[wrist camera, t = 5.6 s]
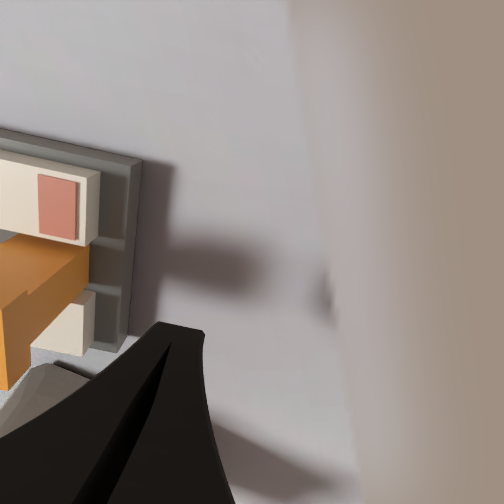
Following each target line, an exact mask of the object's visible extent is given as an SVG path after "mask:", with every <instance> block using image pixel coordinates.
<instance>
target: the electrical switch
mask: <svg viewBox="0 0 504 504" xmlns="http://www.w3.org/2000/svg"><path fill="white" fill-rule="evenodd" d="M89 380H90V379H88V378H85V377H83V376H80V375H78V374H75V373H73V372H71V371H68V370H66V369H63V368H61V367H58V366H56V365H53V364H46V363H45V364H42V365H40V366H37V367H34V368H31V369H30V371H29V372H28V373H27V375H26V376H25V377H24V378H23V380H22V381H21V382H20V384H19V385H18V386H17V387H16V389H15V390H14V391H13V393H12V394H11V395H10V397H9V398H8V399H7V401H6V402H5V403H4V405H3V406H2V407H1V409H0V438H1V437H3V436H5V435H6V434H8V433H10V432H11V431H13V430H15V429H17V428H18V427H20V426H22V425H23V424H25V423H27V422H28V421H30V420H32V419H34V418H35V417H37V416H38V415H40V414H42V413H43V412H45V411H46V410H48V409H49V408H51V407H52V406H54V405H56V404H57V403H59V402H60V401H61V400H63V399H64V398H66V397H67V396H69V395H70V394H72V393H73V392H74V391H76V390H77V389H79V388H80V387H81V386H83V385H84V384H85V383H87V382H88V381H89Z"/></svg>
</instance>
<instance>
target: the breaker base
mask: <svg viewBox="0 0 504 504" xmlns="http://www.w3.org/2000/svg"><path fill="white" fill-rule="evenodd" d="M141 171H142V160H140V159H136V158H131V157H127V156H122V155H117V154H113V153H108V152H104V151H99V150H95V149H90V148H86V147H81V146H77V145H72V144H68V143H63V142H59V141H54V140H50V139H45V138H41V137H36V136H32V135H27V134H22V133H18V132H13V131H9V130H4V129H0V244H1V243H3V242H4V241H6V240H8V239H10V238H12V237H13V236H15V235H17V234H19V233H23V234H27V235H32V236H37V237H41V238H46V239H51V240H55V241H60V242H65V243H69V244H74V245H79V246H84V247H85V246H87V245H88V244H90V250H89V283H88V285H87V286H86V287H85V288H84V289H83V291H82V292H81V293H80V294H79V295H78V296H77V297H76V298H75V299H74V300H73V301H72V302H71V303H70V304H69V305H68V306H67V307H66V308H65V309H64V310H63V311H62V312H61V313H60V314H59V315H58V317H57V318H56V319H55V320H54V321H53V322H52V323H51V324H50V325H49V326H48V327H47V328H46V329H45V330H44V331H43V332H42V333H41V334H40V335H39V336H38V337H37V338H36V339H35V340H34V341H33V343H32V344H31V345H30V346H32V347H37V348H42V349H46V350H51V351H56V352H61V353H66V354H71V355H76V356H81V357H83V355H84V354H85V352H86V351H87V350H88V348H94V349H98V350H103V351H108V352H113V353H117V352H118V351H119V349H120V347H121V346H122V344H123V342H124V341H125V339H126V337H127V335H128V323H129V312H130V300H131V288H132V277H133V265H134V253H135V241H136V230H137V218H138V206H139V195H140V183H141Z"/></svg>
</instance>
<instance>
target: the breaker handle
mask: <svg viewBox="0 0 504 504" xmlns="http://www.w3.org/2000/svg"><path fill="white" fill-rule="evenodd" d="M89 250H90V244H88V245H87V246H85V247H84V246H79V245H74V244H69V243H65V242H60V241H55V240H51V239H46V238H41V237H37V236H32V235H27V234H23V233H19V234H17V235H15V236H13V237H12V238H10V239H8V240H6V241H4V242H3V243H1V244H0V390H5V391H9V390H10V389H11V388H12V386H13V385H14V384H15V383H16V382H17V381H18V380H19V379H20V377H21V376H22V375H23V374H24V373H25V372H26V371H27V369H28V368H29V367H30V366H31V353H30V345H31V344H32V343H33V341H34V340H35V339H36V338H37V337H38V336H39V335H40V334H41V333H42V332H43V331H44V330H45V329H46V328H47V327H48V326H49V325H50V324H51V323H52V322H53V321H54V320H55V319H56V318H57V317H58V315H59V314H60V313H61V312H62V311H63V310H64V309H65V308H66V307H67V306H68V305H69V304H70V303H71V302H72V301H73V300H74V299H75V298H76V297H77V296H78V295H79V294H80V293H81V292H82V291H83V289H84V288H85V287H86V286H87V285H88V283H89Z"/></svg>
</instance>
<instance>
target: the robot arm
mask: <svg viewBox="0 0 504 504" xmlns="http://www.w3.org/2000/svg"><path fill="white" fill-rule="evenodd" d="M204 338H205V334H204V333H203V331H202V330H198V329H193V328H188V327H183V326H178V325H174V324H169V323H164V322H157V323H155V324H154V325H153V326H152V327H151V328H150V329H149V330H148V331H147V332H146V333H145V334H144V335H143V336H142V337H141V338H140V339H138V340H137V341H136V342H135V343H134V344H133V345H132V346H131V347H130V348H129V349H127V350H126V351H125V352H124V353H123V354H122V355H120V356H119V357H118V358H117V359H116V360H114V361H113V362H112V363H111V364H110V365H109V366H107V367H106V368H105V369H104V370H102V371H101V372H100V373H98V374H97V375H96V376H94V377H93V378H92V379H91V380H89V381H88V382H87V383H85V384H84V385H83V386H81V387H80V388H79V389H77V390H76V391H74V392H73V393H72V394H70V395H69V396H67V397H66V398H64V399H63V400H61V401H60V402H59V403H57V404H56V405H54V406H52V407H51V408H49V409H48V410H46V411H45V412H43V413H42V414H40V415H38V416H37V417H35V418H34V419H32V420H30V421H28V422H27V423H25V424H23V425H22V426H20V427H18V428H17V429H15V430H13V431H11V432H10V433H8V434H6V435H5V436H3V437H1V438H0V504H235V501H234V498H233V496H232V493H231V490H230V487H229V485H228V482H227V479H226V476H225V473H224V469H223V466H222V463H221V460H220V456H219V453H218V449H217V445H216V442H215V438H214V434H213V430H212V425H211V421H210V416H209V410H208V405H207V399H206V393H205V384H204V375H203V343H204Z"/></svg>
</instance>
